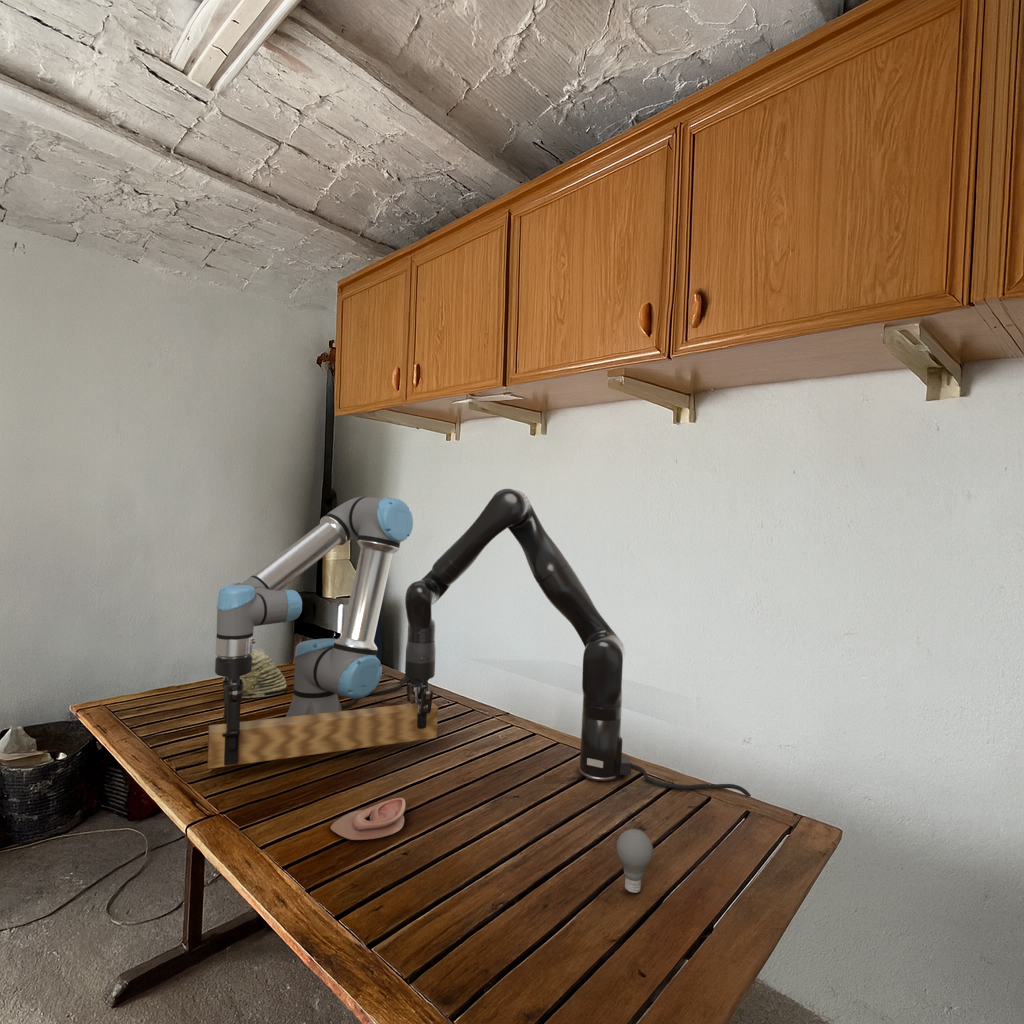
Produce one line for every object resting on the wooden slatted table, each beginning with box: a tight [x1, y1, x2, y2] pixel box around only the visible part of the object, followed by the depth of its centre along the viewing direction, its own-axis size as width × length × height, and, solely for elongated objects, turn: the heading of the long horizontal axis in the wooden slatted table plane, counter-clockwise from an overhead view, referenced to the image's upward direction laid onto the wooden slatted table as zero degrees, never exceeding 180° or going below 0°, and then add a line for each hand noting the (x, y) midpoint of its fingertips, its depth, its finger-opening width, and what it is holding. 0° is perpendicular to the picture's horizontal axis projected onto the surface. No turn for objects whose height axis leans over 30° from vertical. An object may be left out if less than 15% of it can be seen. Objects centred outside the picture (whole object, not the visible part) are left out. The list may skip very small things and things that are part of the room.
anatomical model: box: [330, 797, 407, 841], centre depth 123 cm, size 13×4×12 cm
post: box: [206, 702, 439, 770], centre depth 151 cm, size 53×5×8 cm, turn 117°
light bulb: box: [615, 828, 654, 894], centre depth 106 cm, size 6×6×10 cm
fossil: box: [222, 647, 288, 699], centre depth 198 cm, size 9×18×15 cm, turn 132°
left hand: (230, 758), depth 142 cm, fingers closed on post, 5 cm apart
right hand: (417, 723), depth 162 cm, fingers closed on post, 5 cm apart
